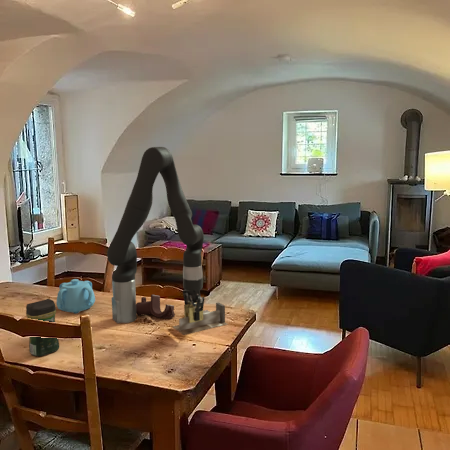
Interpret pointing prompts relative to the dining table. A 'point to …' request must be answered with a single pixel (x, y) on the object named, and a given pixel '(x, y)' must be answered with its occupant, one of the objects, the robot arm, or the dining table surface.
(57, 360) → the dining table surface
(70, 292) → the decorative pot
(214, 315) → the rail
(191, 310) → the block with knob
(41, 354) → the coffee jar
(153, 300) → the bracket
